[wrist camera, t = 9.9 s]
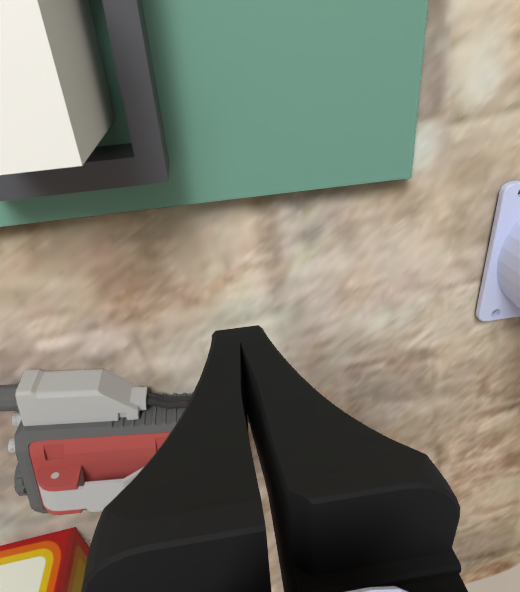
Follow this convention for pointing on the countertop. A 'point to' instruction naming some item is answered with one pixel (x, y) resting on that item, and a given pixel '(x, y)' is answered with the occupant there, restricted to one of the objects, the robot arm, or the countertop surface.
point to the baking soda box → (44, 563)
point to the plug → (50, 85)
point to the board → (239, 104)
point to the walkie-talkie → (83, 435)
